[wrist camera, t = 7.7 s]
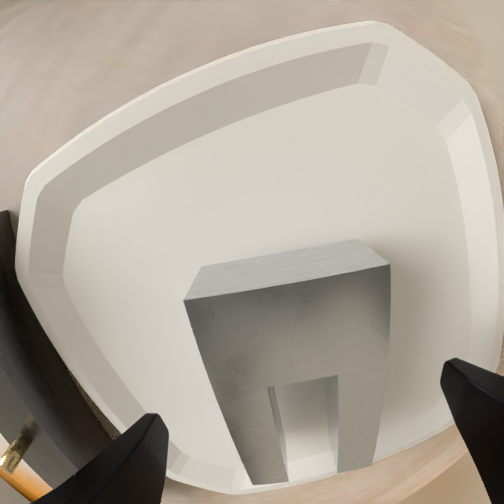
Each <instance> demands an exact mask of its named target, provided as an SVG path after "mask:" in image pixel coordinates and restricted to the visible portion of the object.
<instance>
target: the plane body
mask: <svg viewBox="0 0 504 504" xmlns="http://www.w3.org/2000/svg"><path fill="white" fill-rule="evenodd" d="M15 254H16V244H15V240H14V236H13V232H12V228H11V224H10V220H9V216H8V211H7V210H5V211H2V212H0V433H1V434H2V435H3V437H4V438H5V439H6V440H7V442H8V443H9V444H10V446H9V447H8V449H7V450H6V452H5V453H4V455H3V456H2V458H1V459H0V467H1V468H2V469H4V470H5V471H6V472H7V473H9V474H10V475H12V474H13V472H14V470H15V469H16V467H17V466H18V464H19V462H20V461H21V459H23V460H24V461H25V462H26V463H27V464H28V465H29V466H30V467H31V468H32V469H33V470H34V471H35V472H36V473H37V474H38V475H39V476H40V477H41V478H42V479H43V480H44V481H45V482H46V483H47V484H48V485H49V486H50V487H52V488H53V489H55V488H56V487H58V486H59V485H61V484H62V483H63V482H65V481H66V480H67V479H68V478H70V477H71V476H72V475H75V473H76V472H77V471H79V470H80V469H81V468H82V467H83V466H85V465H86V464H87V463H88V462H90V461H91V460H92V459H93V458H94V457H96V456H97V455H98V454H99V453H100V452H102V451H103V450H104V449H105V448H106V447H107V446H109V445H110V444H111V443H112V442H113V440H112V439H111V438H110V436H109V435H108V434H107V432H106V431H105V430H104V428H103V427H102V425H101V424H100V423H99V421H98V420H97V418H96V417H95V415H94V414H93V412H92V411H91V409H90V408H89V406H88V405H87V403H86V402H85V400H84V398H83V397H82V395H81V394H80V392H79V390H78V389H77V387H76V385H75V383H74V382H73V380H72V378H71V377H70V375H69V373H68V371H67V369H66V368H65V366H64V364H63V362H62V360H61V358H60V356H59V354H58V352H57V350H56V349H55V347H54V345H53V344H52V342H51V341H50V339H49V337H48V336H47V334H46V332H45V331H44V329H43V327H42V326H41V324H40V322H39V320H38V319H37V317H36V315H35V313H34V311H33V310H32V308H31V306H30V304H29V302H28V300H27V298H26V296H25V294H24V292H23V290H22V288H21V286H20V284H19V282H18V279H17V275H16V270H15Z"/></svg>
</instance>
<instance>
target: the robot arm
mask: <svg viewBox="0 0 504 504" xmlns="http://www.w3.org/2000/svg"><path fill="white" fill-rule="evenodd" d="M440 386H441V389H442V391H443V393H444V396H445V398H446V401H447V404H448V406H449V409H450V411H451V414H452V417H453V419H454V421H455V424H456V426H457V428H458V430H459V432H460V434H461V436H462V438H463V440H464V442H465V444H466V446H467V448H468V450H469V452H470V454H471V456H472V458H473V461H474V463H475V465H476V467H477V469H478V472H479V474H480V476H481V479H482V481H483V483H484V486H485V488H486V491H487V493H488V496H489V498H490V500H491V503H492V504H504V377H503V376H501V375H498V374H496V373H493V372H491V371H488V370H486V369H483V368H481V367H478V366H476V365H474V364H471V363H469V362H466V361H464V360H461V359H459V358H452V359H449V360H447V361H445V363H444V365H443V369H442V374H441V378H440ZM168 443H169V431H168V428H167V427H166V425H165V423H164V421H163V420H162V418H161V416H160V415H159V414H158V413H146V414H144V415H143V416H142V417H141V418H140V419H139V420H138V421H136V422H135V423H134V424H133V425H132V426H131V427H130V428H128V429H127V430H126V431H125V432H124V433H123V434H121V435H120V436H119V437H118V438H117V439H116V440H115V441H113V442H112V443H111V444H110V445H109V446H107V447H106V448H105V449H104V450H103V451H102V452H100V453H99V454H98V455H97V456H96V457H94V458H93V459H92V460H91V461H90V462H88V463H87V464H86V465H85V466H83V467H82V468H81V469H80V470H79V471H77V472H76V473H75V475H72V476H71V477H70V478H68V479H67V480H66V481H65V482H63V483H62V484H61V485H59V486H58V487H56V488H55V489H53V490H52V491H50V492H49V493H47V494H46V495H44V496H42V497H41V498H39V499H37V500H36V501H34V502H32V503H30V504H160V503H161V498H162V493H163V487H164V482H165V477H166V469H167V455H168Z"/></svg>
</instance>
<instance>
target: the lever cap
mask: <svg viewBox="0 0 504 504" xmlns="http://www.w3.org/2000/svg"><path fill="white" fill-rule="evenodd" d="M183 302H184V305H185V308H186V312H187V315H188V318H189V321H190V324H191V328H192V331H193V334H194V337H195V340H196V343H197V346H198V349H199V352H200V355H201V358H202V361H203V364H204V366H205V369H206V372H207V375H208V378H209V381H210V383H211V386H212V389H213V391H214V394H215V397H216V399H217V402H218V405H219V407H220V410H221V412H222V415H223V417H224V420H225V423H226V425H227V427H228V430H229V432H230V435H231V437H232V440H233V442H234V444H235V447H236V449H237V451H238V454H239V456H240V458H241V461H242V463H243V465H244V467H245V470H246V472H247V474H248V476H249V478H250V480H251V483H252V485H264V484H275V483H284V482H289V477H288V464H287V451H286V439H285V435H284V430H283V425H282V420H281V415H280V411H279V406H278V401H277V396H276V391H275V386H279V385H285V384H291V383H297V382H303V381H309V380H314V379H319V378H324V377H326V395H327V417H328V435H329V439H330V443H331V448H332V452H333V457H334V462H335V466H336V471H337V474H338V473H343V472H347V471H351V470H355V469H359V468H363V467H367V466H370V465H372V462H373V458H374V453H375V448H376V443H377V438H378V432H379V427H380V421H381V414H382V408H383V400H384V393H385V384H386V375H387V364H388V352H389V336H390V310H391V269H390V263H389V262H387V261H386V260H385V259H384V258H382V257H381V256H380V255H379V254H377V253H376V252H375V251H373V250H372V249H371V248H370V247H368V246H367V245H366V244H364V243H363V242H362V241H360V240H359V239H355V240H349V241H343V242H338V243H332V244H327V245H321V246H315V247H310V248H304V249H298V250H293V251H287V252H281V253H276V254H270V255H264V256H258V257H253V258H247V259H241V260H235V261H229V262H224V263H218V264H212V265H206V266H202V267H201V268H200V270H199V272H198V274H197V276H196V277H195V279H194V281H193V283H192V285H191V287H190V288H189V290H188V292H187V294H186V296H185V298H184V300H183Z"/></svg>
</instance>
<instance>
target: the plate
mask: <svg viewBox="0 0 504 504" xmlns="http://www.w3.org/2000/svg"><path fill="white" fill-rule="evenodd" d="M355 239H359V240H360V241H362V242H363V243H364V244H366V245H367V246H368V247H370V248H371V249H372V250H373V251H375V252H376V253H377V254H379V255H380V256H381V257H382V258H384V259H385V260H386V261H387V262H389V263H390V269H391V310H390V336H389V352H388V364H387V375H386V384H385V393H384V400H383V408H382V414H381V421H380V427H379V432H378V438H377V443H376V448H375V453H374V458H373V462H372V463H374V462H377V461H379V460H382V459H384V458H387V457H389V456H392V455H394V454H397V453H399V452H401V451H403V450H406V449H408V448H410V447H412V446H414V445H416V444H419V443H421V442H423V441H425V440H427V439H429V438H431V437H433V436H434V435H436V434H438V433H440V432H442V431H444V430H446V429H447V428H449V427H451V426H452V425H453V424H454V423H455V421H454V419H453V417H452V414H451V411H450V409H449V406H448V404H447V401H446V398H445V396H444V393H443V391H442V389H441V386H440V378H441V374H442V369H443V365H444V363H445V361H447V360H449V359H452V358H459V359H461V360H464V361H466V362H469V363H471V364H474V365H476V366H478V367H481V368H483V369H486V370H488V371H491V372H493V373H496V371H497V369H498V367H499V362H500V356H501V350H502V343H503V336H504V206H503V199H502V192H501V186H500V180H499V174H498V169H497V164H496V160H495V155H494V151H493V147H492V143H491V139H490V135H489V131H488V128H487V124H486V121H485V118H484V115H483V111H482V108H481V105H480V102H479V100H478V97H477V95H476V93H475V91H474V90H473V88H472V87H471V85H470V84H469V82H468V81H467V80H466V79H465V78H464V77H463V76H462V75H461V74H459V73H458V72H457V71H456V70H455V69H453V68H452V67H451V66H450V65H448V64H447V63H446V62H445V61H443V60H442V59H441V58H439V57H438V56H437V55H435V54H434V53H433V52H431V51H430V50H428V49H427V48H426V47H424V46H423V45H421V44H420V43H418V42H417V41H416V40H414V39H413V38H411V37H409V36H408V35H406V34H405V33H403V32H402V31H400V30H398V29H397V28H395V27H393V26H392V25H390V24H386V23H382V22H378V21H374V20H372V21H363V22H356V23H349V24H343V25H337V26H332V27H326V28H321V29H316V30H312V31H307V32H303V33H299V34H295V35H291V36H287V37H283V38H280V39H276V40H273V41H269V42H266V43H263V44H260V45H256V46H253V47H250V48H247V49H244V50H242V51H239V52H236V53H233V54H230V55H228V56H225V57H222V58H220V59H217V60H215V61H212V62H210V63H207V64H205V65H203V66H200V67H198V68H196V69H193V70H191V71H189V72H186V73H184V74H182V75H180V76H178V77H176V78H174V79H172V80H169V81H167V82H165V83H163V84H161V85H159V86H157V87H156V88H154V89H152V90H150V91H148V92H146V93H144V94H142V95H141V96H139V97H137V98H135V99H133V100H132V101H130V102H128V103H126V104H125V105H123V106H121V107H120V108H118V109H116V110H115V111H113V112H111V113H110V114H108V115H107V116H105V117H103V118H102V119H100V120H99V121H97V122H96V123H94V124H93V125H91V126H90V127H88V128H87V129H85V130H84V131H83V132H81V133H80V134H78V135H77V136H75V137H74V138H73V139H71V140H70V141H69V142H67V143H66V144H65V145H63V146H62V147H61V148H59V149H58V150H57V151H55V152H54V153H53V154H52V155H50V156H49V157H48V158H47V159H45V160H44V161H43V162H42V163H40V164H39V165H38V166H37V167H36V168H35V169H33V170H32V171H31V173H30V175H29V177H28V179H27V181H26V183H25V186H24V191H23V197H22V203H21V209H20V216H19V223H18V232H17V242H16V254H15V270H16V275H17V279H18V282H19V284H20V286H21V288H22V290H23V292H24V294H25V296H26V298H27V300H28V302H29V304H30V306H31V308H32V310H33V311H34V313H35V315H36V317H37V319H38V320H39V322H40V324H41V326H42V327H43V329H44V331H45V332H46V334H47V336H48V337H49V339H50V341H51V342H52V344H53V345H54V347H55V349H56V350H57V352H58V353H59V355H60V356H61V358H62V359H63V361H64V362H65V364H66V365H67V367H68V368H69V369H70V371H71V372H72V374H73V375H74V376H75V378H76V379H77V381H78V382H79V383H80V385H81V386H82V387H83V389H84V390H85V391H86V392H87V394H88V395H89V396H90V398H91V399H92V400H93V401H94V403H95V404H96V405H97V406H98V407H99V409H100V410H101V411H102V412H103V413H104V415H105V416H106V417H107V418H108V419H109V420H110V421H111V423H112V424H113V425H114V426H115V427H116V428H117V429H118V430H119V431H120V432H121V434H123V433H124V432H125V431H126V430H127V429H128V428H130V427H131V426H132V425H133V424H134V423H135V422H136V421H138V420H139V419H140V418H141V417H142V416H143V415H144V414H146V413H158V414H159V415H160V416H161V418H162V420H163V421H164V423H165V425H166V427H167V428H168V431H169V443H168V455H167V469H166V476H167V477H169V478H171V479H173V480H175V481H179V482H182V483H185V484H189V485H192V486H196V487H199V488H203V489H207V490H211V491H215V492H220V493H224V494H231V495H240V494H249V493H256V492H263V491H270V490H275V489H281V488H286V487H291V486H296V485H300V484H305V483H309V482H313V481H317V480H321V479H325V478H328V477H332V476H335V475H339V474H342V473H338V474H337V471H336V466H335V462H334V457H333V452H332V448H331V443H330V439H329V435H328V417H327V395H326V377H324V378H319V379H314V380H309V381H303V382H297V383H291V384H285V385H279V386H275V391H276V396H277V401H278V406H279V411H280V415H281V420H282V425H283V430H284V435H285V439H286V451H287V464H288V477H289V482H284V483H275V484H264V485H252V483H251V480H250V478H249V476H248V474H247V472H246V470H245V467H244V465H243V463H242V461H241V458H240V456H239V454H238V451H237V449H236V447H235V444H234V442H233V440H232V437H231V435H230V432H229V430H228V427H227V425H226V423H225V420H224V417H223V415H222V412H221V410H220V407H219V405H218V402H217V399H216V397H215V394H214V391H213V389H212V386H211V383H210V381H209V378H208V375H207V372H206V369H205V366H204V364H203V361H202V358H201V355H200V352H199V349H198V346H197V343H196V340H195V337H194V334H193V331H192V328H191V324H190V321H189V318H188V315H187V312H186V308H185V305H184V302H183V300H184V298H185V296H186V294H187V292H188V290H189V288H190V287H191V285H192V283H193V281H194V279H195V277H196V276H197V274H198V272H199V270H200V268H201V267H202V266H206V265H212V264H218V263H224V262H229V261H235V260H241V259H247V258H253V257H258V256H264V255H270V254H276V253H281V252H287V251H293V250H298V249H304V248H310V247H315V246H321V245H327V244H332V243H338V242H343V241H349V240H355ZM347 472H348V471H347ZM343 473H345V472H343Z"/></svg>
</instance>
